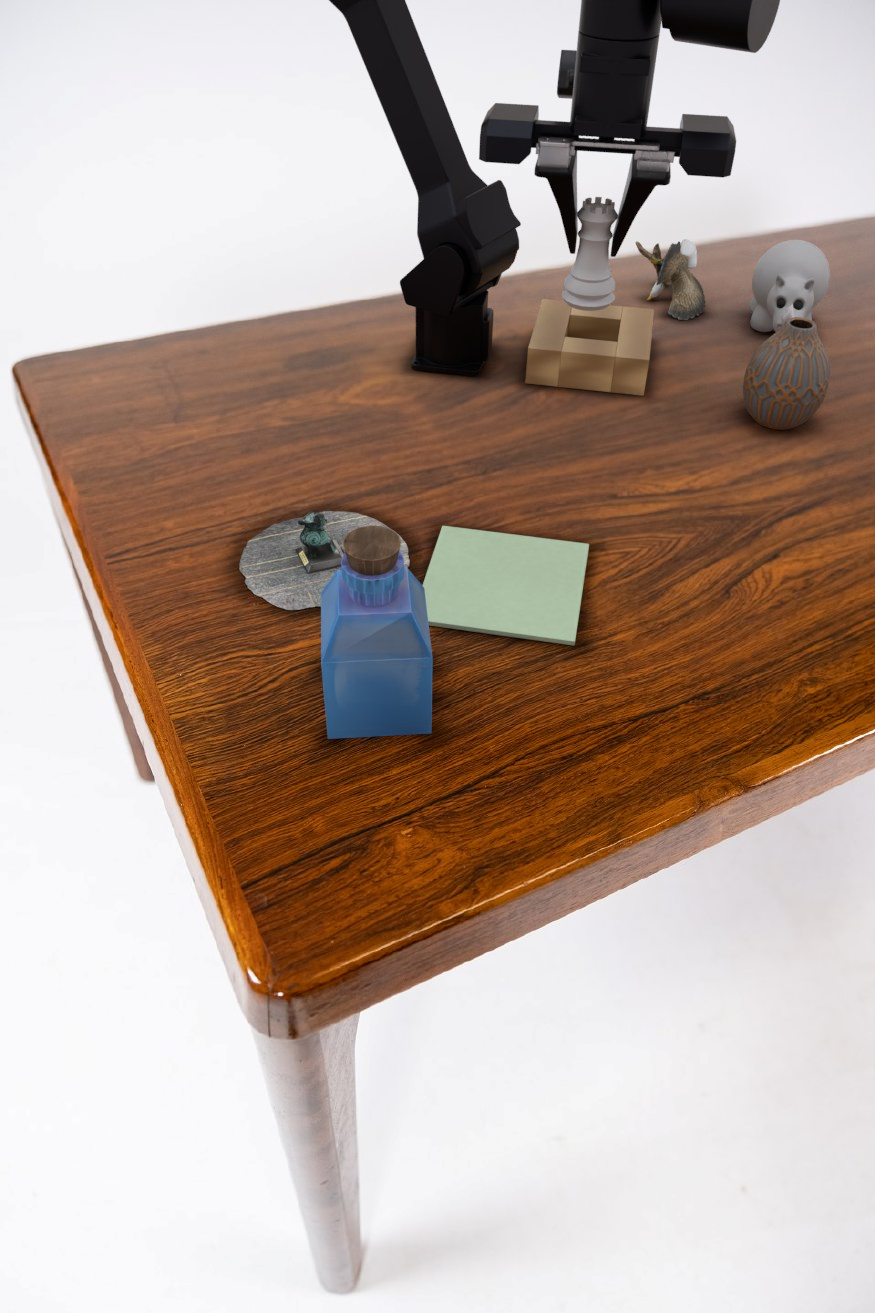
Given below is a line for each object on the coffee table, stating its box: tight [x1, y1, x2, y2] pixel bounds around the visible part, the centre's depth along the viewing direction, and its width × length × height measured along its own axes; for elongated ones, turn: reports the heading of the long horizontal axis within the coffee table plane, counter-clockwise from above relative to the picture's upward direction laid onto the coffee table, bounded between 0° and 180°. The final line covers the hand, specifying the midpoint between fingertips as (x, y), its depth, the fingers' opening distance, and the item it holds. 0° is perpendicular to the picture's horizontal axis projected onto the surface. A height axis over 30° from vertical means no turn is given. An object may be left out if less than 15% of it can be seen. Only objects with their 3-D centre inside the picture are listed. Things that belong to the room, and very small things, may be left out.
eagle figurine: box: [635, 238, 706, 321], centre depth 105 cm, size 8×7×9 cm
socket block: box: [524, 298, 655, 397], centre depth 95 cm, size 11×11×4 cm
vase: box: [742, 317, 831, 431], centre depth 86 cm, size 7×7×9 cm
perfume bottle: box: [320, 526, 434, 740], centre depth 59 cm, size 6×6×12 cm
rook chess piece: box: [561, 196, 618, 311], centre depth 82 cm, size 4×4×8 cm
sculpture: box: [238, 510, 411, 611], centre depth 73 cm, size 12×9×8 cm
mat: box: [421, 525, 590, 647], centre depth 71 cm, size 11×11×1 cm
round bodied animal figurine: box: [749, 239, 831, 333], centre depth 98 cm, size 7×12×8 cm, turn 163°
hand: (593, 253), depth 82 cm, fingers closed on rook chess piece, 3 cm apart
